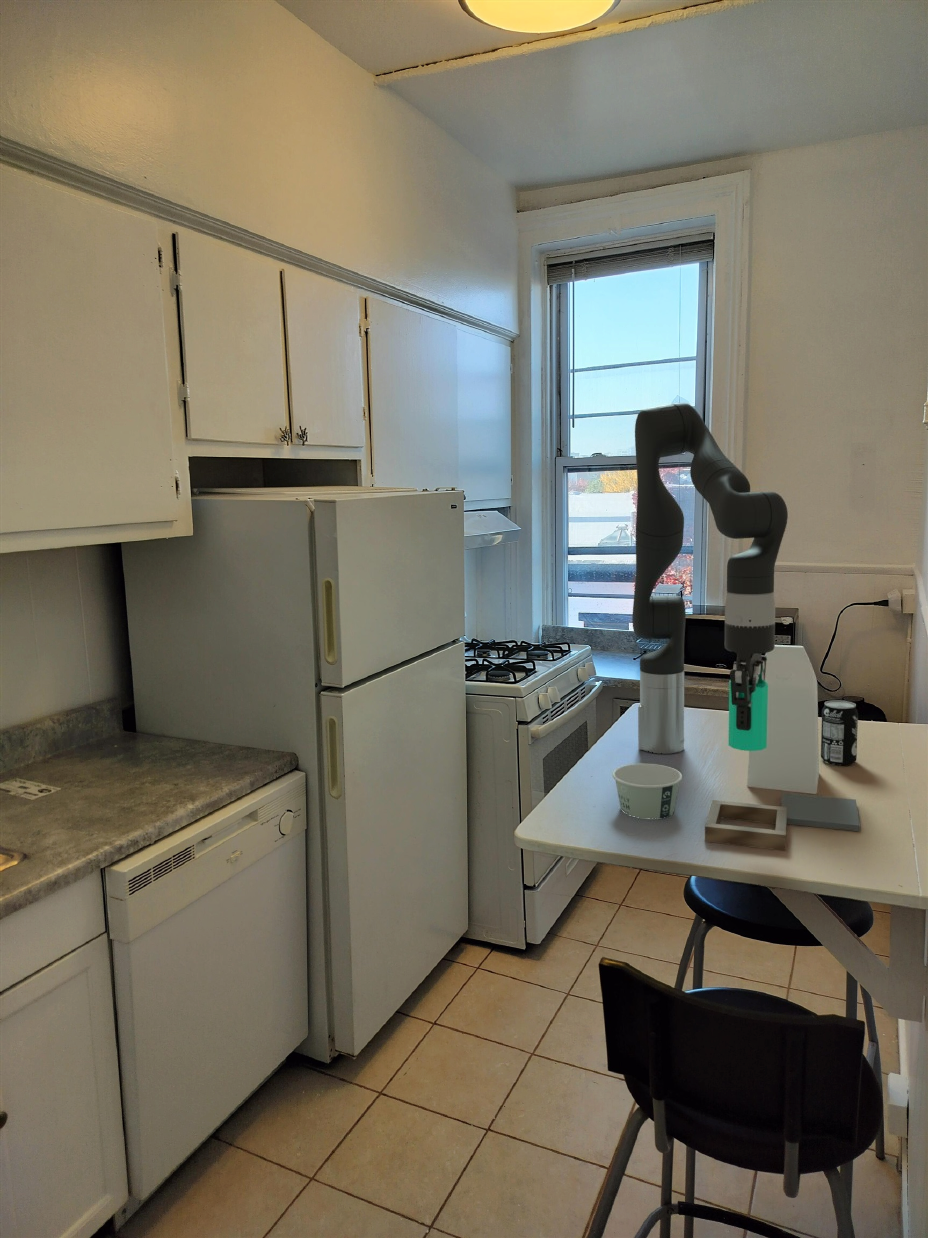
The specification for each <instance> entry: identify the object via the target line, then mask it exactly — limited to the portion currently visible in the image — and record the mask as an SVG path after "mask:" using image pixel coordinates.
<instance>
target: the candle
mask: <svg viewBox="0 0 928 1238" xmlns="http://www.w3.org/2000/svg"><path fill="white" fill-rule="evenodd" d="M728 681H729V684H728V746H729V747H730V748H732V749H735V750H737V751H744V752H745V751H746V752H747V751H748V752H749V751H758V750H763V749H765V748H767V708H768V683H767V682H766V681H764V680H763V682H762V683H758V684H757V687H756V692H754V693H752V702H753V705H752V707H751V729H750V730H748V731H747V730H739V729H737V727H736V706H735V705H732V702H731V700H732V698H731V681H730V680H728ZM758 681H759V679H758ZM749 687H751V685H749ZM739 698H744V693H739Z"/></svg>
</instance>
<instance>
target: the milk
mask: <svg viewBox="0 0 928 1238" xmlns="http://www.w3.org/2000/svg"><path fill="white" fill-rule="evenodd" d="M764 656H766V658H767V661H766V672H765V681H766V682H767V683H768V708H767V748H765V749H763V750H758V751H748V765H747V767H748V768H747V778H746V779H747V781H746V786H747V787H748V788H757V789H758V788H759V789H768V790H769V789H770V790H776V791H785V792H795V793H804V794H814V795H815V794H817V792H818V784H819V777H820V763H819V762H820V759H819V757H820V755H819V750H820V749H819V714H818V713H819V707H818V706H819V705H818V702H819V701H818V680H817V676H816V673H815V670H814V667H813V665H812V662H811V660H810V658H809V655H808V654H807V651H806V648H805V647H804V646H802V645H788V644H787V645H785V644H784V645H783V644H775V647H774V649H773V650H772V651H771V652H767V653H764ZM758 679H759V677H758Z"/></svg>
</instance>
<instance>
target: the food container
mask: <svg viewBox="0 0 928 1238" xmlns="http://www.w3.org/2000/svg"><path fill="white" fill-rule="evenodd" d="M611 775H612V778H613V779H614V780H615V785H616V790H617V794H618V801H619V807H620V810H621V809H622V810H623V811H624V812H625V813H627V814H628V815H631V816H635V817H639V818H650V819H649V820H658V819H657V818H662V819H665V818H664V817H666V818H668V817H667V816H669V817H671V816H672V815H673V814H674V813H675V808H676V802H677V798H678V792H679V785H680V782H681V781H682V779H683V775H682V773H681V772H680V771H679V770H678V769H676V768H673V767H670V766H667V765H662V764H657V763H632V764H625V765H622V766H619V767H617V768H615V769H614V770H613V772H612V774H611ZM673 812H674V813H673ZM628 815H627V816H628ZM670 815H671V816H670ZM631 816H630V817H631ZM639 818H638V819H639ZM652 818H653V819H652ZM655 818H656V819H655Z"/></svg>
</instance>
